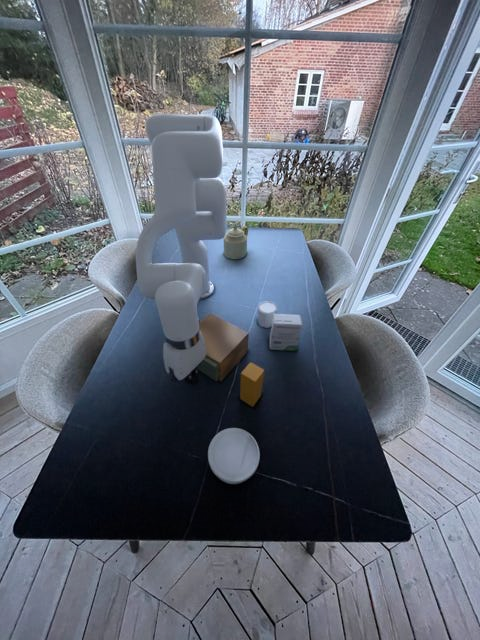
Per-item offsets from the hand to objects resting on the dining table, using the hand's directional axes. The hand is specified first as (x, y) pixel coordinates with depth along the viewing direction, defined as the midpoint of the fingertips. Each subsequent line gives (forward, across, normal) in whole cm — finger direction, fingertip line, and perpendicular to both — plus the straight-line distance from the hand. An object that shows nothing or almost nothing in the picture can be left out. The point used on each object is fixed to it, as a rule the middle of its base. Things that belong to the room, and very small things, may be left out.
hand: (191, 381), depth 70 cm
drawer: (+4, -12, -3) cm, 13 cm away
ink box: (+5, -30, +12) cm, 33 cm away
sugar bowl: (+5, -70, -35) cm, 79 cm away
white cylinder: (+5, -36, +2) cm, 36 cm away
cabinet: (+5, -14, -3) cm, 15 cm away
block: (+5, -8, +14) cm, 17 cm away
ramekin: (+5, +8, +20) cm, 22 cm away
